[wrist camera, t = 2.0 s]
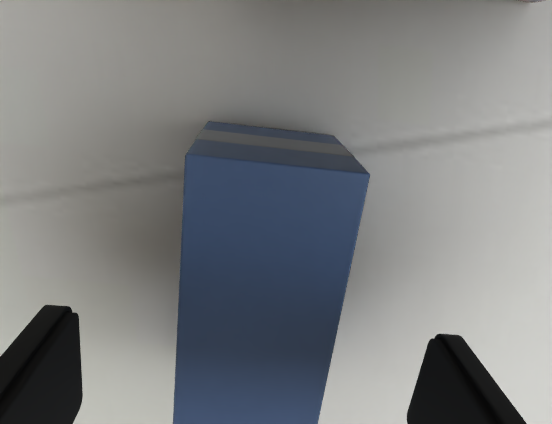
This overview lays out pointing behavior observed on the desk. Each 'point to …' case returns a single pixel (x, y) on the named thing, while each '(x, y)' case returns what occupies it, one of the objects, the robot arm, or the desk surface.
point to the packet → (262, 272)
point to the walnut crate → (531, 0)
